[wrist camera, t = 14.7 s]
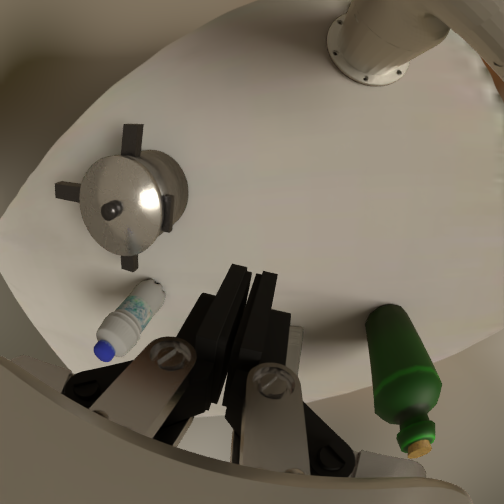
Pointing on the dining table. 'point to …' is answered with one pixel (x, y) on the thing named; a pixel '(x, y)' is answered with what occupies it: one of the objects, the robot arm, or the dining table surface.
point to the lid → (121, 205)
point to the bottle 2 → (402, 378)
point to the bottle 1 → (128, 321)
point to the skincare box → (294, 348)
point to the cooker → (162, 171)
